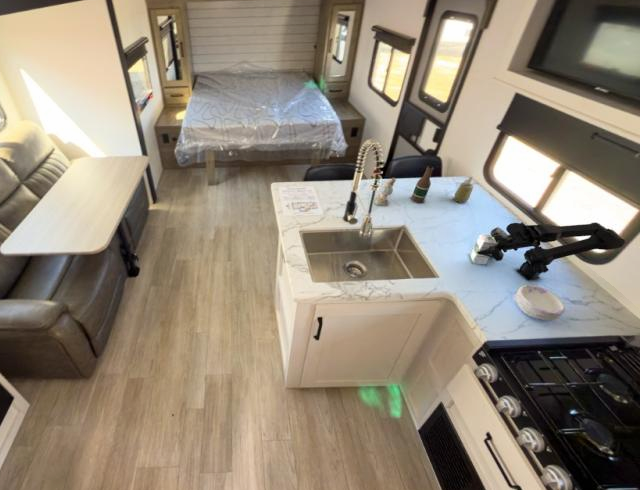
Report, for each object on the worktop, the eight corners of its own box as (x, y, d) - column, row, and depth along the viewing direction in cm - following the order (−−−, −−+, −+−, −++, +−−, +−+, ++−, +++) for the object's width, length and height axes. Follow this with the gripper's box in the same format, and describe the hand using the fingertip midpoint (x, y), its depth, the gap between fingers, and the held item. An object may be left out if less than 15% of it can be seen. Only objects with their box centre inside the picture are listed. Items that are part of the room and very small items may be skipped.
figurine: (387, 208, 197) (396, 180, 185) (373, 204, 200) (381, 177, 188) (389, 200, 203) (398, 173, 191) (376, 197, 206) (384, 170, 195)
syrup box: (485, 264, 158) (498, 243, 149) (472, 262, 159) (483, 241, 151) (481, 257, 162) (493, 235, 154) (468, 255, 164) (480, 233, 155)
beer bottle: (411, 202, 201) (424, 169, 187) (410, 195, 207) (422, 163, 193) (424, 204, 200) (438, 171, 185) (422, 197, 206) (436, 165, 191)
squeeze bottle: (449, 198, 204) (460, 174, 193) (458, 195, 207) (469, 172, 196) (461, 205, 198) (473, 181, 188) (469, 202, 201) (482, 178, 190)
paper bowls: (535, 294, 143) (545, 283, 139) (563, 324, 131) (575, 313, 127) (502, 295, 143) (511, 284, 138) (528, 325, 131) (538, 314, 126)
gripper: (511, 217, 150) (474, 225, 163) (505, 237, 139) (466, 244, 151) (523, 237, 151) (485, 243, 163) (518, 258, 139) (478, 264, 152)
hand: (479, 248), depth 157 cm, fingers open, 8 cm apart
